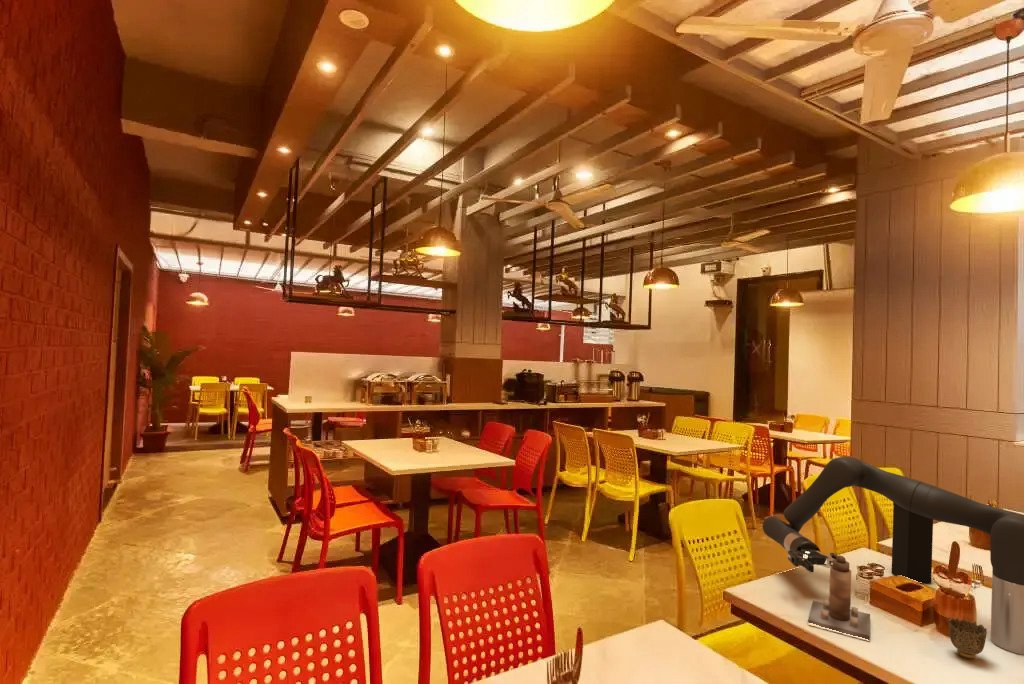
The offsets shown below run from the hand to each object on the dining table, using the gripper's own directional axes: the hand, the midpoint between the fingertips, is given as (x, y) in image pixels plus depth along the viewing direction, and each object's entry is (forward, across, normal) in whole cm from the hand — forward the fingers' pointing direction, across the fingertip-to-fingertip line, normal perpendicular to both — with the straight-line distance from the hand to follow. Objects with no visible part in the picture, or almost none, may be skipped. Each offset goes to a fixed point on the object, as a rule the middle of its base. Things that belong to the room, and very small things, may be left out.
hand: (827, 569), depth 159 cm
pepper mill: (+6, 0, +10) cm, 12 cm away
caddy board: (+7, 0, +12) cm, 13 cm away
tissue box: (-26, +40, +12) cm, 49 cm away
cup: (+21, +23, +12) cm, 33 cm away
